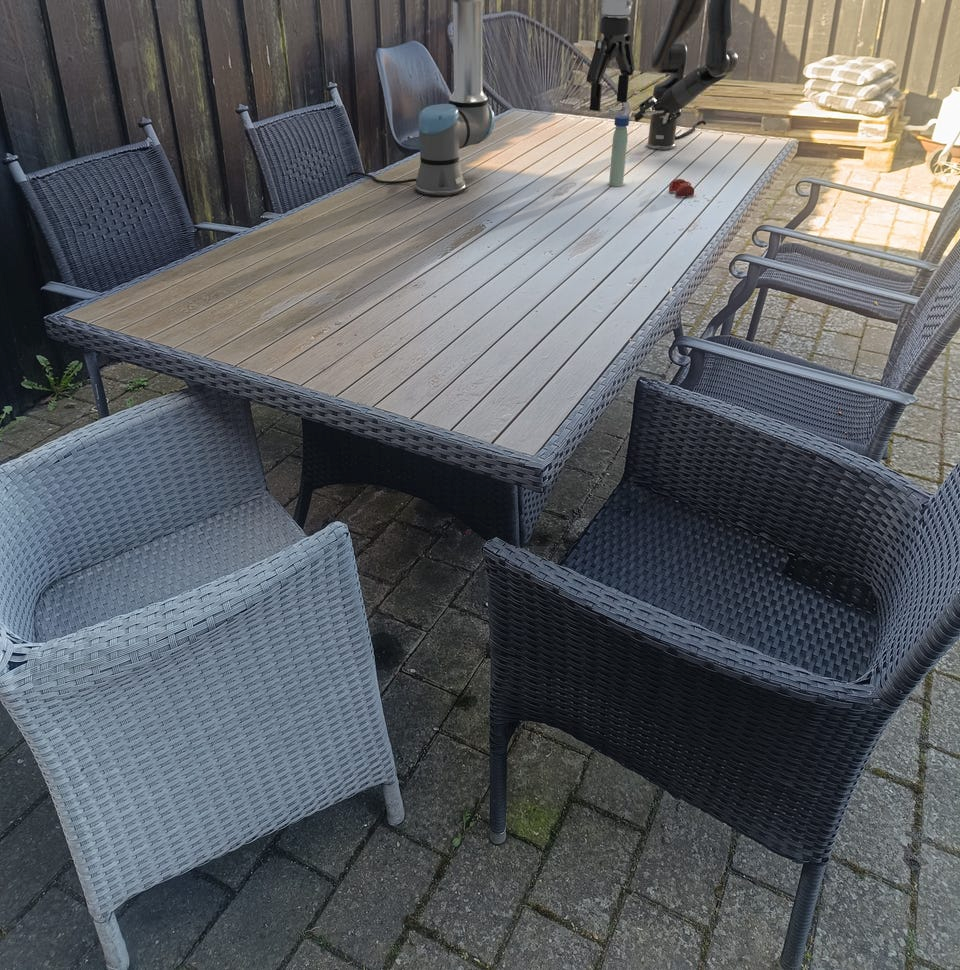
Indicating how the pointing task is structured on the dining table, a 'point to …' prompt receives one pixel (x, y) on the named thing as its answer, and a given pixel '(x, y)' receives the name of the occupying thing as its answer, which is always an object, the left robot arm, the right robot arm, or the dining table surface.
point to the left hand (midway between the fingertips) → (608, 106)
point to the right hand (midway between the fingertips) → (644, 122)
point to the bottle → (618, 156)
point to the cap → (621, 121)
